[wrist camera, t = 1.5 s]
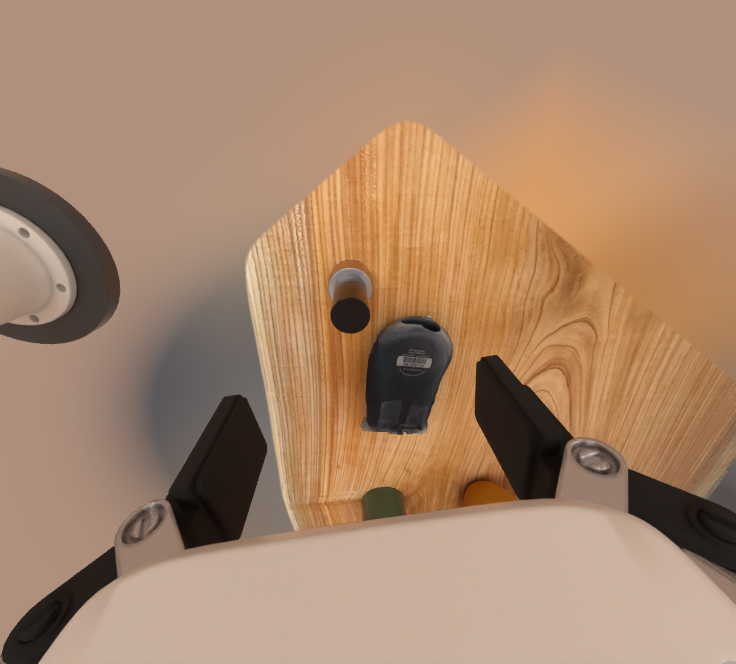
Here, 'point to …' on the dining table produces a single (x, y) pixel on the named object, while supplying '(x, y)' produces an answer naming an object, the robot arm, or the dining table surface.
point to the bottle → (382, 504)
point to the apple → (486, 494)
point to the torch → (350, 296)
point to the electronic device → (405, 375)
